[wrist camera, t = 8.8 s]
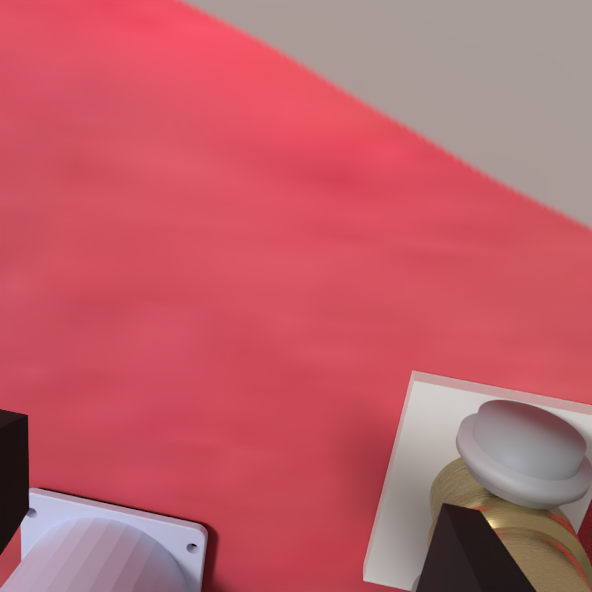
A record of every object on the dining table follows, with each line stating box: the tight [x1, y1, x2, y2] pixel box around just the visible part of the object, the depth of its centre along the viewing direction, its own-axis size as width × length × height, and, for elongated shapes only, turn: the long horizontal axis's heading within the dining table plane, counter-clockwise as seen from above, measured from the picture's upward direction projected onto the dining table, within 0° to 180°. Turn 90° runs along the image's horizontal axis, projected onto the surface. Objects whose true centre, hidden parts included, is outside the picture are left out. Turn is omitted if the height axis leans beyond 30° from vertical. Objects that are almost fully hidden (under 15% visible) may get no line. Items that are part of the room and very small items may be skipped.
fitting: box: [363, 370, 592, 592], centre depth 18 cm, size 9×7×4 cm
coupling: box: [427, 457, 592, 592], centre depth 17 cm, size 5×5×6 cm
